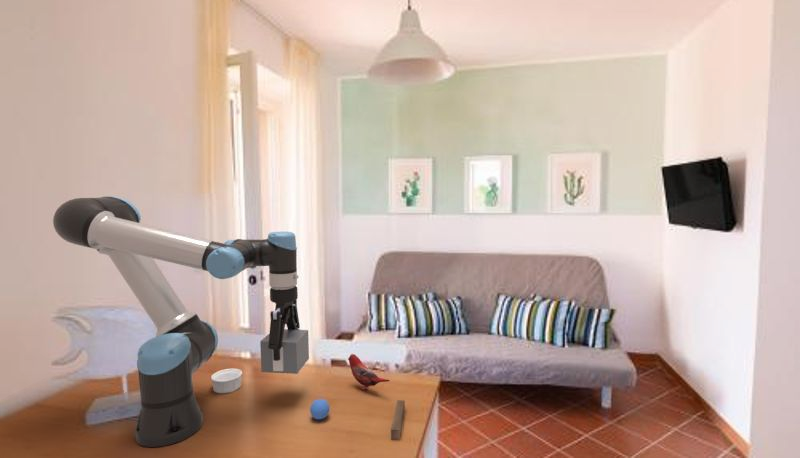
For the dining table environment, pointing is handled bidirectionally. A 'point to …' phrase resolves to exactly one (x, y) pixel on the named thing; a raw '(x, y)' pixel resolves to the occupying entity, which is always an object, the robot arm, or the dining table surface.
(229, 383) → the ramekin
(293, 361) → the gray storage cube
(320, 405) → the ball
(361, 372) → the decorative bird figurine
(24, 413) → the dining table surface
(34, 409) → the dining table surface
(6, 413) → the dining table surface
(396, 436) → the strip
